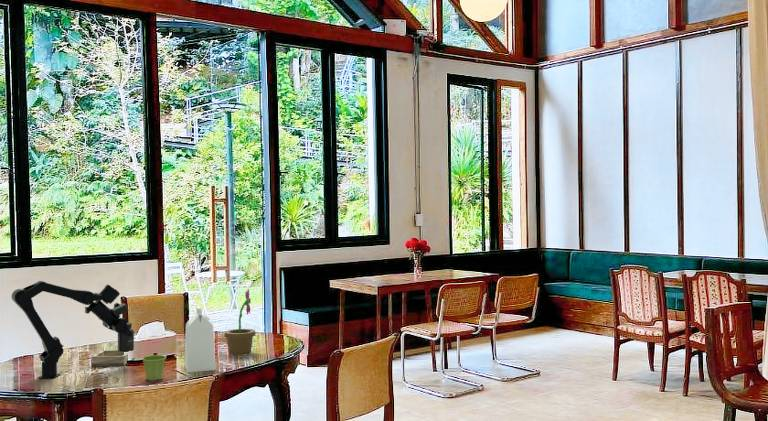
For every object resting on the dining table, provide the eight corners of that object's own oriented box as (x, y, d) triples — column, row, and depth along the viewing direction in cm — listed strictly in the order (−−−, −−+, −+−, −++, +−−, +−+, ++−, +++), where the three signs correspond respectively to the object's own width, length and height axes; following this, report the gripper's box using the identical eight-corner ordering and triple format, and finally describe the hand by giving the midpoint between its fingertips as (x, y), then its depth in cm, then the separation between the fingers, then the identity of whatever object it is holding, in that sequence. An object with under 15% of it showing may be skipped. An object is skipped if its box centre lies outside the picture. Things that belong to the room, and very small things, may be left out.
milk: (184, 366, 314) (183, 306, 314) (211, 364, 318) (210, 304, 318) (187, 372, 303) (186, 310, 302) (215, 369, 307) (214, 308, 306)
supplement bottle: (132, 351, 314) (131, 324, 314) (115, 352, 313) (115, 324, 313) (136, 348, 320) (135, 321, 320) (120, 349, 320) (119, 322, 320)
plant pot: (169, 375, 297) (169, 354, 297) (163, 381, 287) (162, 359, 287) (146, 376, 297) (145, 355, 296) (139, 382, 287) (138, 360, 287)
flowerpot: (258, 354, 337) (257, 290, 336) (227, 357, 331) (226, 291, 331) (252, 348, 350) (251, 286, 350) (222, 351, 345) (221, 288, 344)
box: (123, 365, 318) (123, 356, 318) (91, 365, 317) (91, 356, 317) (134, 358, 332) (133, 349, 332) (103, 359, 331) (103, 350, 331)
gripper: (123, 300, 307) (149, 323, 314) (109, 295, 322) (134, 318, 328) (104, 320, 302) (130, 343, 309) (91, 315, 317) (117, 337, 324)
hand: (128, 335), depth 318 cm, fingers closed on supplement bottle, 7 cm apart
